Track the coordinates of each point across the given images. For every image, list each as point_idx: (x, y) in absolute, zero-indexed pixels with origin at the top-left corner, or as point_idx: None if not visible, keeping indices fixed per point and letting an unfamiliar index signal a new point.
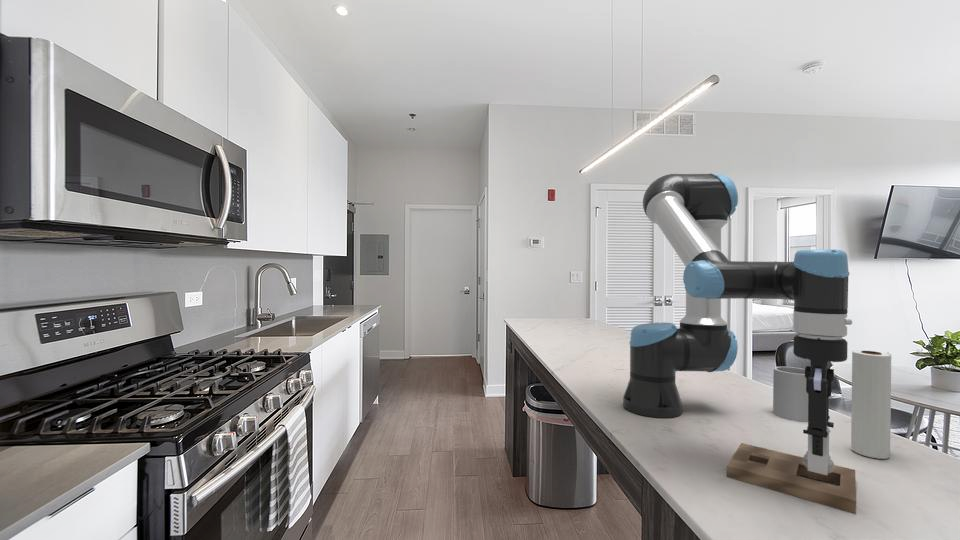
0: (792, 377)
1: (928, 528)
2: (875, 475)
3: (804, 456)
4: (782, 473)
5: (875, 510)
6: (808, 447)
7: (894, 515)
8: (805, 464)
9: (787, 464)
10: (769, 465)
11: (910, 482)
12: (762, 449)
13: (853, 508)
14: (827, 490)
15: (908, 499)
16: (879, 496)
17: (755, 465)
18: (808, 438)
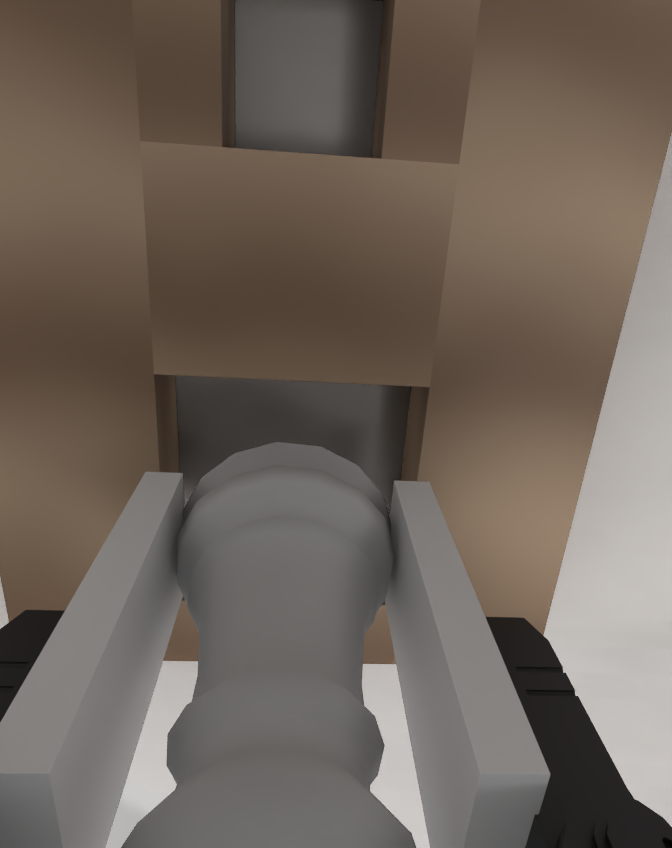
0: None
1: (141, 793)
2: (653, 687)
3: (255, 485)
4: (109, 284)
5: (168, 669)
6: (71, 610)
7: (174, 719)
8: (228, 464)
9: (355, 311)
10: (218, 172)
11: (637, 783)
12: (633, 77)
13: None
14: (39, 546)
15: (412, 766)
16: (364, 688)
17: (118, 42)
18: (17, 705)
